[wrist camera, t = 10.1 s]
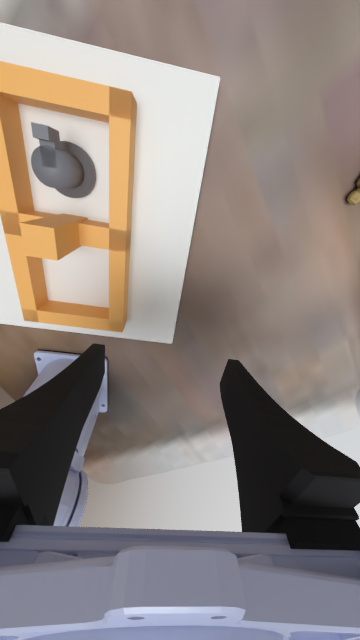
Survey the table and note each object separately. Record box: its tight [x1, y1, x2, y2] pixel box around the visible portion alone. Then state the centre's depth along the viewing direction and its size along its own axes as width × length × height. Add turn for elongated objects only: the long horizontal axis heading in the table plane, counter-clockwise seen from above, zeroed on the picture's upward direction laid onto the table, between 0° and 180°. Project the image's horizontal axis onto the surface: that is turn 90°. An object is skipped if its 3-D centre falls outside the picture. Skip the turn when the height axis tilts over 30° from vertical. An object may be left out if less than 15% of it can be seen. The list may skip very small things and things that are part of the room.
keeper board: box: [0, 22, 220, 344], centre depth 16 cm, size 20×18×5 cm
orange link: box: [0, 61, 137, 332], centre depth 15 cm, size 16×8×6 cm, turn 171°
